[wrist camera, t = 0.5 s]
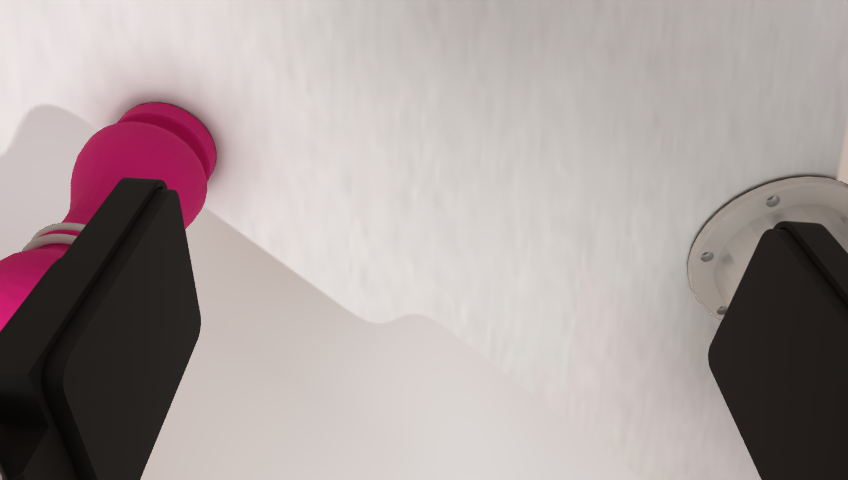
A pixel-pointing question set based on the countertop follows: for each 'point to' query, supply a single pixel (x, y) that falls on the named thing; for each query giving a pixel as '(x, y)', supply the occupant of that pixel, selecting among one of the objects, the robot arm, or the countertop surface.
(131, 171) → the pepper mill
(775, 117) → the countertop surface
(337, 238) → the countertop surface
